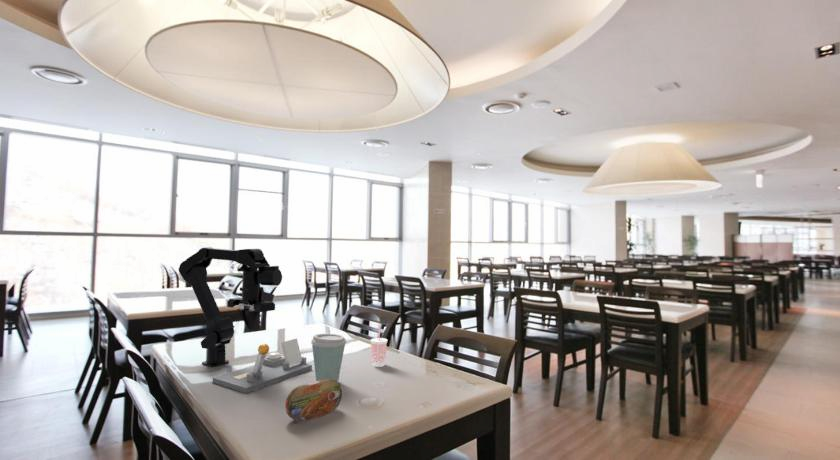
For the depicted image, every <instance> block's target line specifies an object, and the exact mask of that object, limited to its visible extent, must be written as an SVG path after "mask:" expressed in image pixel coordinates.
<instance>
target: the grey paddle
mask: <svg viewBox="0 0 840 460" xmlns="http://www.w3.org/2000/svg"><path fill="white" fill-rule="evenodd" d="M280 344H281V348H282V349H281V350H282V352H283V353H282V354H283V357H284V358H285V362H287V363H289V365H292V364H295V363H298V362H301V361H302V357H303V356H302V354H301V350H300V345H299V341H298V338H293V339H289V340H286V341H282V342H281V343H280Z"/></svg>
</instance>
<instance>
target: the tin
mask: <svg viewBox="0 0 840 460" xmlns="http://www.w3.org/2000/svg"><path fill="white" fill-rule="evenodd" d="M342 392H343V390H342V387H341V385H340V383H339V382H336V381H334V380H330V379H323V380H320V381H316V380H315V381H313V382H310V383H309V382H308V383H306V384H303V385H299V386H297V387H295V388H293V389H292V390H291V391H290V392H289V394H288V395H287V397H286V400H285V407H284V408H285V412H286V415H287V416H288V417H289V418H290V419H291V420H293V421H294V422H296V423H304V422H307V421H311V420H314V419H316V418H319V417H322V416H325V415H328V414H330V413H333V412H334V411H335V410H336V409H337V408H338V407H339V405H340V403H341V400H342V396H343V393H342Z"/></svg>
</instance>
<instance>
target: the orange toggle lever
mask: <svg viewBox="0 0 840 460" xmlns="http://www.w3.org/2000/svg"><path fill="white" fill-rule="evenodd" d="M257 351H258V353H257V357H256V360H255V362H254V363H255V364H254V365H255V366H254V369H253V372H252V374H254V379H256V378H259V375H260V372H261V369H262V366H263V363H264V359H265V358H266V357H267V354H269V352H270V345H268V344H267V343H263V344H260V345H259V346H258V348H257Z"/></svg>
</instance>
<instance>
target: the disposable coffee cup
mask: <svg viewBox="0 0 840 460" xmlns="http://www.w3.org/2000/svg"><path fill="white" fill-rule="evenodd" d="M310 343H311V347H312V355H313V365H314V375H315V382H316V381H320V380H323V379H330V380H334V381H336V382H338V381H339V379H340V373H341V368H342V363H343V358H344V351H345V346H346V343H347V339H346V337H344V336H343V335H341V334H336V333H317V334H315V335H313V339H311V342H310ZM338 383H339V382H338Z"/></svg>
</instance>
